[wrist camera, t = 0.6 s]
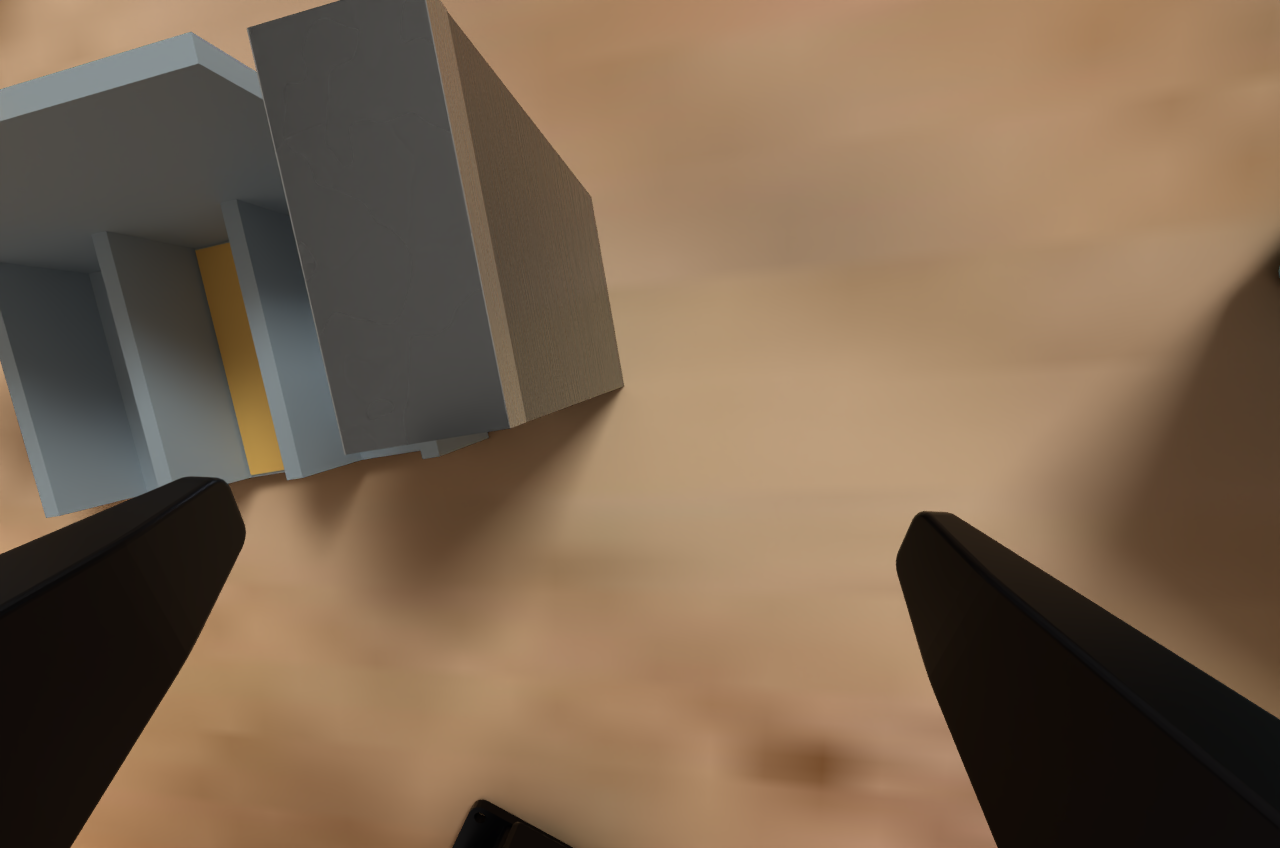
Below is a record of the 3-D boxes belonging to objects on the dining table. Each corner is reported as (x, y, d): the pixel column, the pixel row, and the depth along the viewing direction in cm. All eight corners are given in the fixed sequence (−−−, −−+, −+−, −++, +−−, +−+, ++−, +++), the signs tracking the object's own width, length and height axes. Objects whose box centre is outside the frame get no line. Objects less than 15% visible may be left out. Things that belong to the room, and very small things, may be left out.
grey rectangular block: (624, 386, 21) (510, 428, 9) (548, 398, 21) (344, 454, 10) (591, 196, 20) (421, -24, 8) (513, 213, 21) (247, 27, 9)
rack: (488, 437, 22) (234, 533, 10) (154, 491, 24) (-362, 618, 13) (437, 182, 21) (90, -33, 9) (93, 263, 23) (-528, 173, 12)
